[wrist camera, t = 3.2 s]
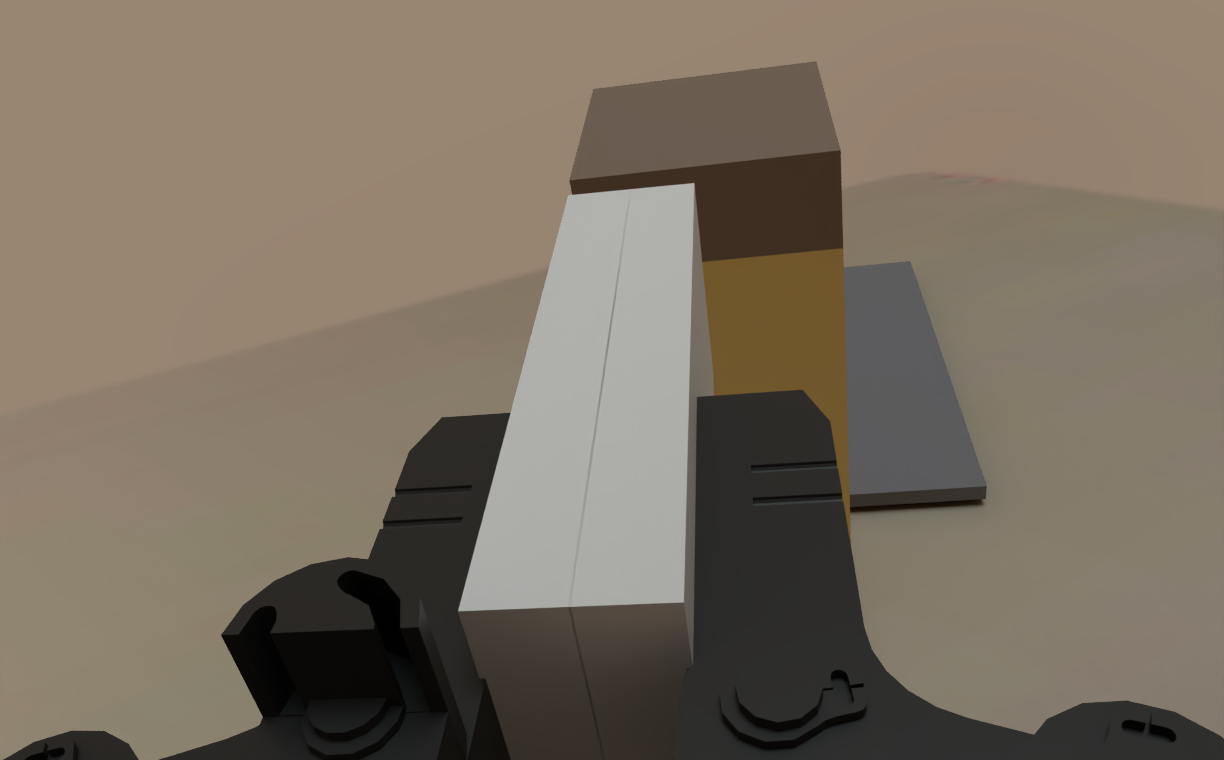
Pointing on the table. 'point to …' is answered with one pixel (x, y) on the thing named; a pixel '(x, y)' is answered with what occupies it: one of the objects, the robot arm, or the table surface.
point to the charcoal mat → (901, 397)
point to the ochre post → (745, 218)
